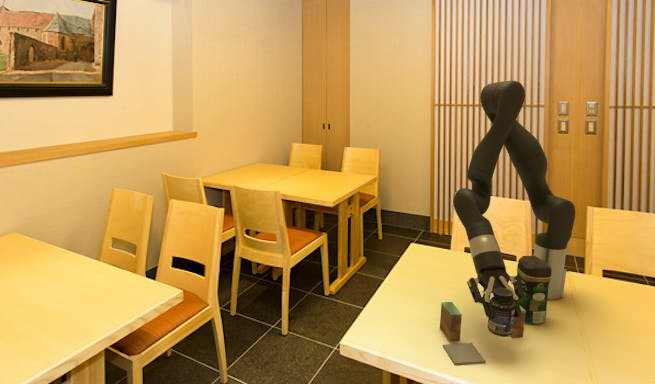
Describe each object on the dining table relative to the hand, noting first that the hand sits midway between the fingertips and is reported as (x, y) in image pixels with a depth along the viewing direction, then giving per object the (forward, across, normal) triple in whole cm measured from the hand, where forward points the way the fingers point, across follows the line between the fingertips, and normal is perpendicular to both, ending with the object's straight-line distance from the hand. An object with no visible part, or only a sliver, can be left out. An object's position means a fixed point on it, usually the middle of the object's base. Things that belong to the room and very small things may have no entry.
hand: (504, 317), depth 107 cm
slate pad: (+7, -10, +8) cm, 14 cm away
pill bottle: (+2, 0, +5) cm, 5 cm away
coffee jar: (-4, +17, +21) cm, 27 cm away
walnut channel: (0, 0, +15) cm, 15 cm away
